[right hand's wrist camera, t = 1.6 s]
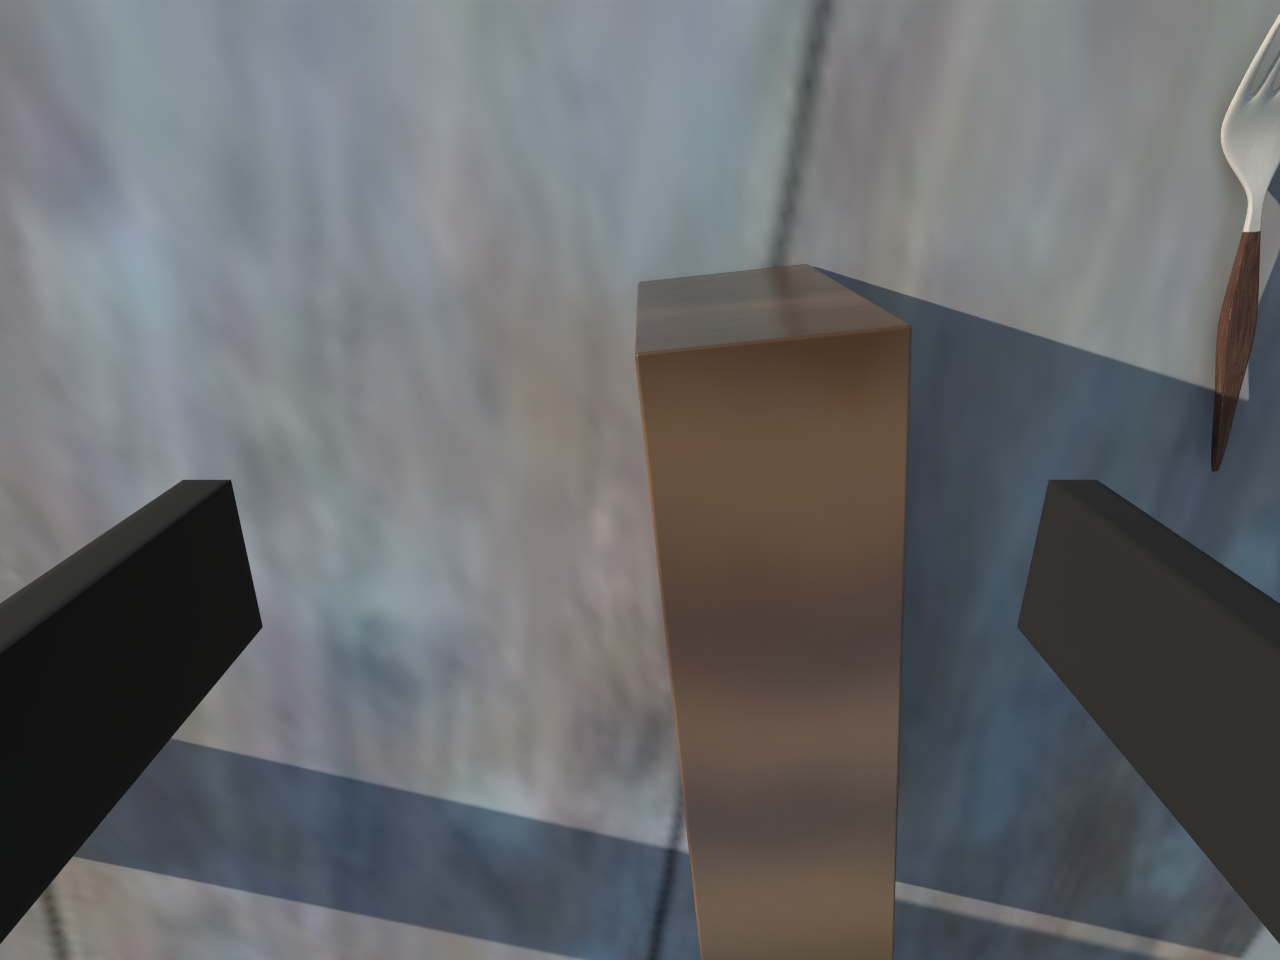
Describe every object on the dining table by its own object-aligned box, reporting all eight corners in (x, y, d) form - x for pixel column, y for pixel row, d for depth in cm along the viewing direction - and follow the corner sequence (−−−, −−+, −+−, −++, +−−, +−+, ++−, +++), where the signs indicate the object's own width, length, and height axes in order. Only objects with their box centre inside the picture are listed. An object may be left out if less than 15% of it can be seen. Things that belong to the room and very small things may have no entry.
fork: (1171, 470, 31) (1205, 490, 29) (1234, 16, 25) (1281, 4, 23) (1238, 462, 31) (1277, 481, 29) (1317, 3, 25) (1372, -10, 23)
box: (637, 281, 28) (634, 353, 17) (808, 263, 28) (912, 324, 17) (695, 837, 39) (715, 1099, 28) (820, 828, 38) (890, 1088, 27)
